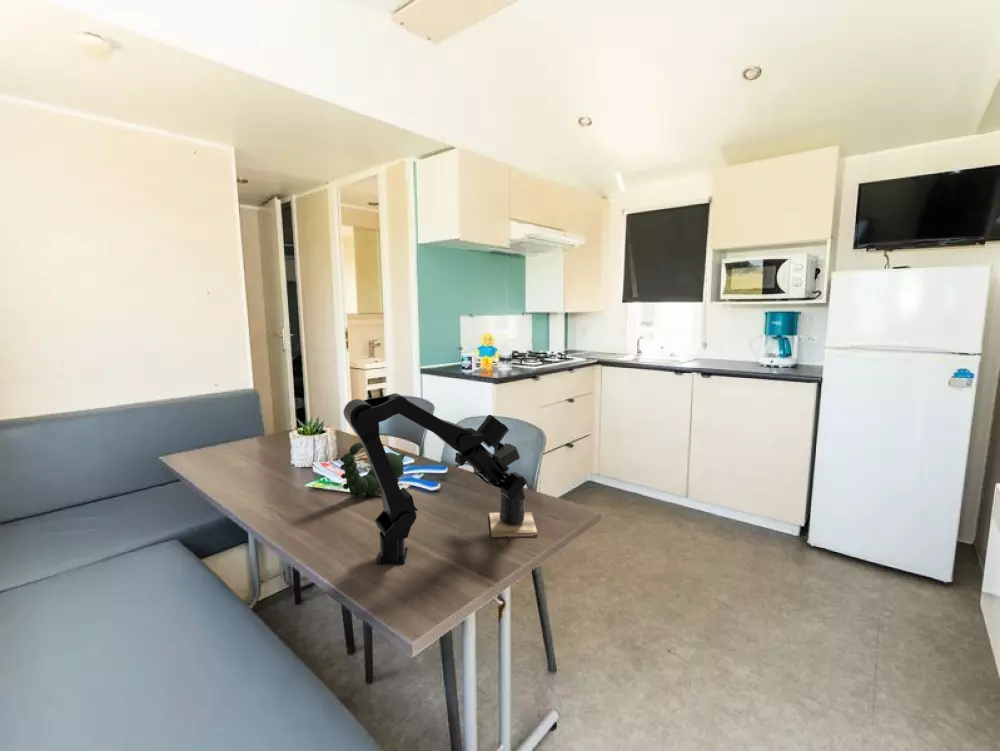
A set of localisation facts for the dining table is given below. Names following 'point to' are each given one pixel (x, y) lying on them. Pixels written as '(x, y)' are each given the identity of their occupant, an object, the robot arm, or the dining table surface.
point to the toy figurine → (369, 481)
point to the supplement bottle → (512, 510)
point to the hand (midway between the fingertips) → (516, 493)
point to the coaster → (512, 526)
